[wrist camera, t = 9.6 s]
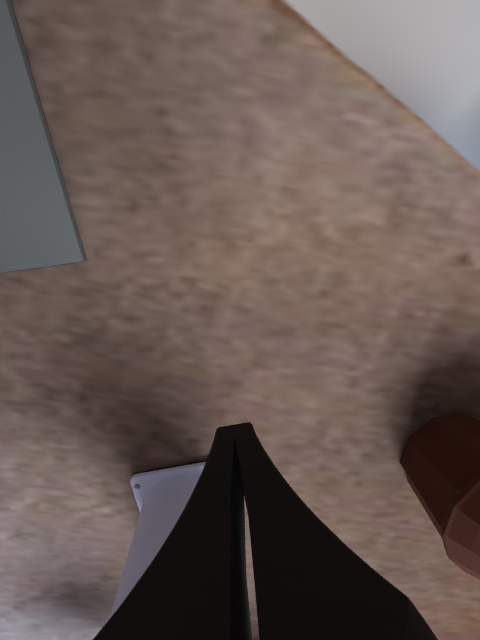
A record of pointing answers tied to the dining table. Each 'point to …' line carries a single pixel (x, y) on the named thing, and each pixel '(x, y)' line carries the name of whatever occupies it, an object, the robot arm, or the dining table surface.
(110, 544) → the dining table surface
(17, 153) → the mat
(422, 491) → the muffin
